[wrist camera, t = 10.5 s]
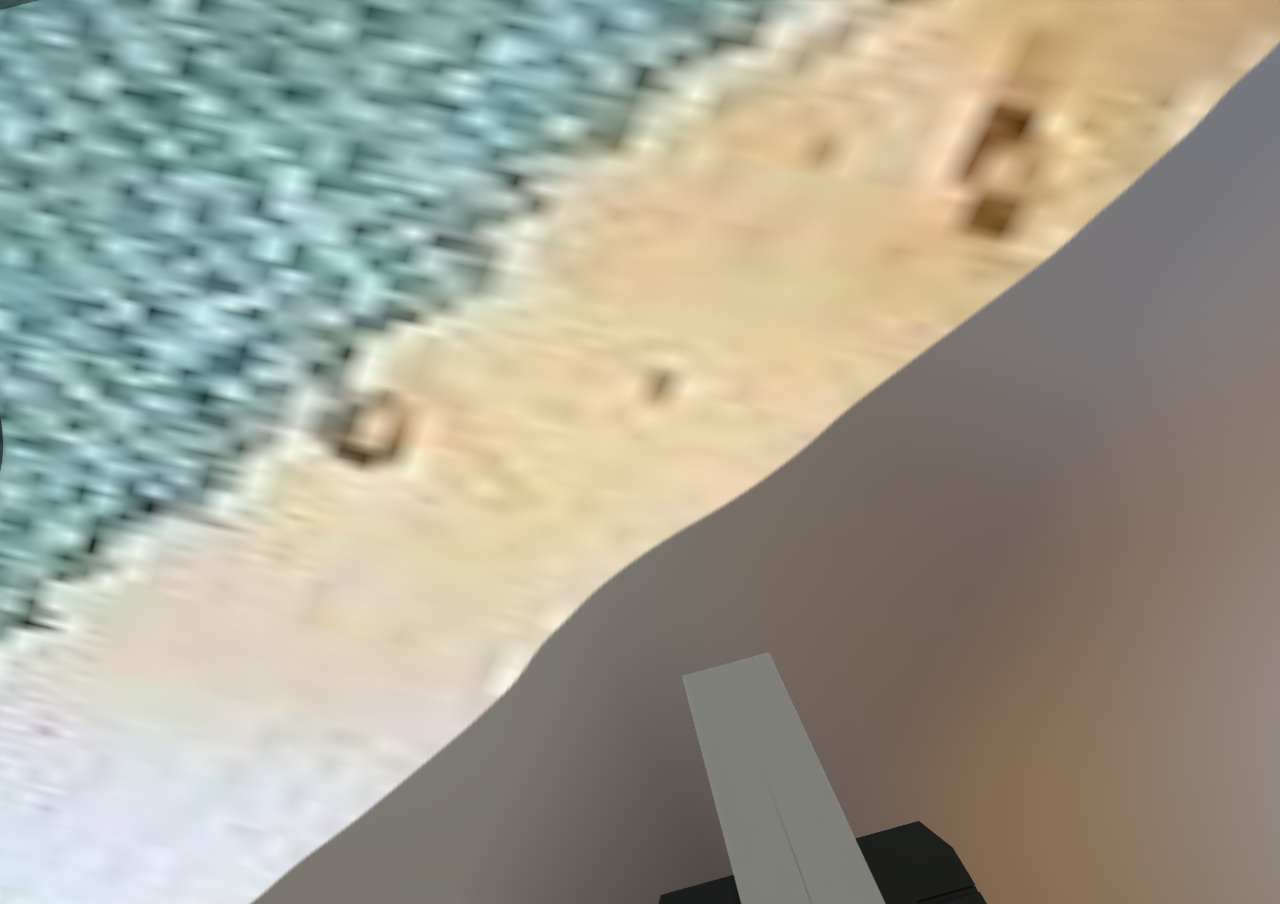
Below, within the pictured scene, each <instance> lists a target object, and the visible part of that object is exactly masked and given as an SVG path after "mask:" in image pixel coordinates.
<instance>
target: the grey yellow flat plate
mask: <svg viewBox="0 0 1280 904" xmlns="http://www.w3.org/2000/svg"><path fill="white" fill-rule="evenodd" d="M33 1H37V0H0V10H1V9H5V8H9V7H13V6H17V5H21V4H25V3H29V2H33Z"/></svg>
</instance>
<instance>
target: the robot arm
mask: <svg viewBox="0 0 1280 904" xmlns="http://www.w3.org/2000/svg"><path fill="white" fill-rule="evenodd" d="M2 455H3V437H2V427H1V420H0V469H1V464H2ZM682 678H683V682H684V686H685V690H686V694H687V697H688V701H689V705H690V709H691V713H692V716H693V720H694V724H695V728H696V732H697V736H698V740H699V743H700V747H701V751H702V755H703V759H704V763H705V766H706V770H707V774H708V778H709V781H710V786H711V789H712V793H713V797H714V801H715V805H716V809H717V812H718V816H719V820H720V824H721V827H722V832H723V835H724V839H725V843H726V847H727V850H728V855H729V858H730V862H731V866H732V870H733V873H734V875H731V876H728V877H724V878H721V879H717V880H713V881H710V882H706V883H703V884H699V885H695V886H692V887H688V888H685V889H681V890H677V891H674V892H670V893H667V894H663V895H661V897H660V900H659V904H987V903H986V902H985V900H984V898H983V897H982V895H981V893H980V892H978V891H977V889H976V886H975V884H974V882H973V880H972V879H971V877H970V875H969V874H968V872H967V870H966V869H965V867H964V866H963V864H962V862H961V860H960V859H959V857H958V856H957V854H956V852H955V851H954V849H953V848H952V847H951V846H950V845H949V844H947V843H946V842H945V841H943V840H942V839H941V838H940V837H938V836H937V835H936V834H935V833H933V832H932V831H931V830H930V829H928V828H927V827H926V826H924V825H923V824H922V823H921V822H919V821H917V822H914V823H910V824H907V825H903V826H899V827H896V828H892V829H889V830H885V831H881V832H877V833H874V834H870V835H867V836H863V837H859V838H856V839H855V837H854V835H853V833H852V831H851V828H850V826H849V824H848V822H847V820H846V818H845V816H844V814H843V811H842V809H841V807H840V805H839V803H838V801H837V798H836V796H835V794H834V792H833V790H832V788H831V785H830V783H829V781H828V779H827V777H826V775H825V773H824V770H823V768H822V766H821V764H820V762H819V760H818V757H817V755H816V753H815V751H814V749H813V747H812V744H811V742H810V740H809V738H808V736H807V734H806V732H805V729H804V727H803V725H802V723H801V721H800V719H799V716H798V714H797V712H796V710H795V708H794V706H793V703H792V701H791V699H790V697H789V695H788V693H787V691H786V688H785V686H784V684H783V682H782V680H781V678H780V676H779V674H778V671H777V669H776V667H775V665H774V663H773V661H772V658H771V656H770V654H769V653H765V654H761V655H757V656H754V657H750V658H746V659H743V660H739V661H735V662H732V663H728V664H724V665H721V666H717V667H713V668H710V669H706V670H703V671H699V672H695V673H691V674H688V675H684V676H682Z"/></svg>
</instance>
